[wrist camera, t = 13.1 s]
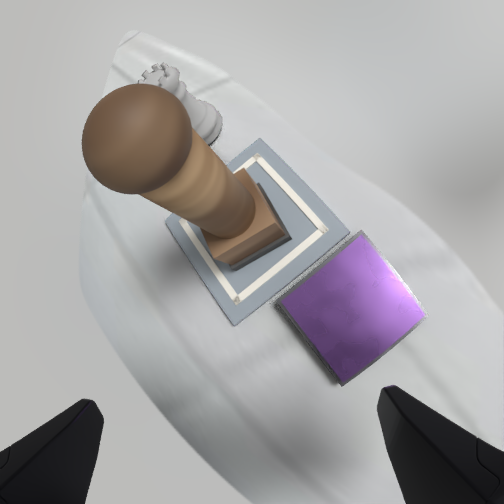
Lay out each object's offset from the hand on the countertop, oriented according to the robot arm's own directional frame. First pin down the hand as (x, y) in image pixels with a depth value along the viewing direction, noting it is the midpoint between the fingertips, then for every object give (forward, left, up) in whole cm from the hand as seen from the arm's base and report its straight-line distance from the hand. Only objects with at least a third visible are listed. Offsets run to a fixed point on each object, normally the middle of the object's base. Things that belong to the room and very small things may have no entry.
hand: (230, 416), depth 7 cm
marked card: (+9, -3, -12) cm, 15 cm away
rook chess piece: (+19, -5, -12) cm, 23 cm away
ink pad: (0, -5, -12) cm, 13 cm away
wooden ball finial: (+9, -3, -11) cm, 15 cm away
